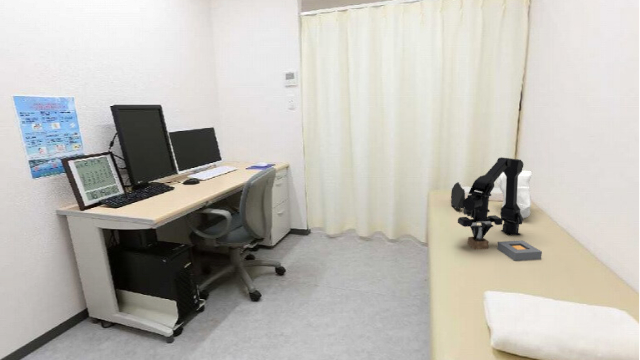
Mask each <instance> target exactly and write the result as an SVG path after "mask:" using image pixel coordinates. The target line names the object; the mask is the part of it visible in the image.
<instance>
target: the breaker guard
mask: <svg viewBox="0 0 640 360" xmlns="http://www.w3.org/2000/svg"><path fill="white" fill-rule="evenodd" d="M519 245H520V246H522V247H524V248H525V249H521V250H517V249H515V248H514V247H512V246H519ZM496 250H498V251H499V252H501V253H503V255H505V256H507V257H508V258H510V259H511V260H513V262H516V261H517V262H518V261H519V262H520V261H532V260H533V261H534V260H541V259H542V253H543V251H542V250H540V249H538V248H537V247H535V246H533V245H532V244H529V243H528V242H526V241H525V240H505V241H497V246H496Z"/></svg>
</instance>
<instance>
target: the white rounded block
mask: <svg viewBox="0 0 640 360" xmlns="http://www.w3.org/2000/svg"><path fill="white" fill-rule="evenodd" d="M532 176H533V171H531V170H523V169H522V172H521V173H520V174H519V175H518V185H517V205H518V206H519V208H520V214H521V215H522V217H523V219H526V218H528V217H529V216H530V215H531V206H532V194H531V193H532V192H531V189H530V188H531V187H530V181H531V177H532ZM496 184H497V185H498V187H499V189H500V191H501V194H502V197H503V201H502V206H501V208H502V207H503V206H504V205H505V203H506V175H505V174H504V172H503V173H502V174H501V175H500V176H499V177H498V178H497V180H496Z"/></svg>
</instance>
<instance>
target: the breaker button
mask: <svg viewBox="0 0 640 360" xmlns="http://www.w3.org/2000/svg"><path fill="white" fill-rule="evenodd" d="M512 247H514V248H515V249H517V250H521V249H525V248H524V247H522V246H520V245H519V246H512Z"/></svg>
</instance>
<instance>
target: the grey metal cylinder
mask: <svg viewBox="0 0 640 360" xmlns="http://www.w3.org/2000/svg"><path fill="white" fill-rule="evenodd" d="M477 226H478V227H479V228H478V233H477V237H476V239H475V241H482V233H483V226H481V224H477Z"/></svg>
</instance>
